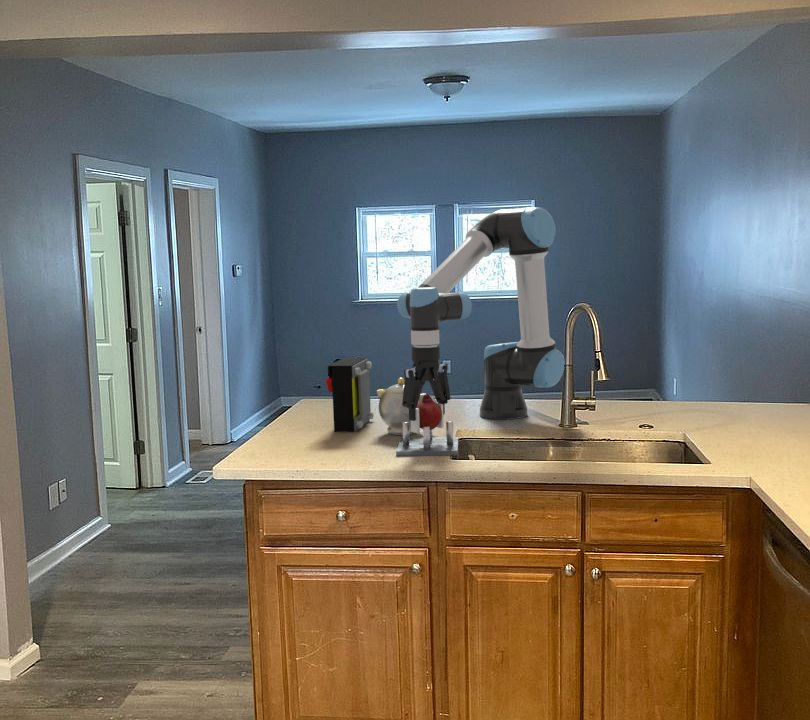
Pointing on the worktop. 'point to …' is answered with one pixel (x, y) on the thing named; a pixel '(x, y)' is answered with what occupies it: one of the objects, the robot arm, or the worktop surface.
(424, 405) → the fruit
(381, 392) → the teapot
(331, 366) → the electrical component
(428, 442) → the grey square pegged plate
